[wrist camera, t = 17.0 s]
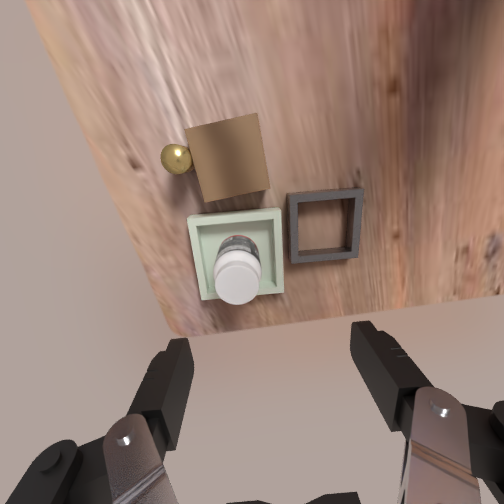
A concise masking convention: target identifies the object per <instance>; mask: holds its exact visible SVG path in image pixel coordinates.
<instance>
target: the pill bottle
mask: <svg viewBox="0 0 504 504" xmlns="http://www.w3.org/2000/svg"><path fill="white" fill-rule="evenodd" d="M261 276H262V269H261V263H260V257H259V251H258V248H257V246H256V244H255V242H254V241H253V240H252V239H250V238H249V237H247V236H244V235H233V236H230V237H228V238H226V239H225V240H224V241H223V242H222V243H221V245H220V247H219V250H218V254H217V257H216V261H215V264H214V269H213V277H214V281H215V289H216V292H217V294H218V296H219V297H220V298H221V299H222V300H223V301H225V302H227V303H229V304H234V305H241V304H245V303H247V302H249V301H251V300H252V299H253V298H254V297H255V296H256V294H257V293H258V290H259V283H260V280H261Z"/></svg>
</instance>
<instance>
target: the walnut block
mask: <svg viewBox="0 0 504 504" xmlns="http://www.w3.org/2000/svg"><path fill="white" fill-rule="evenodd" d="M184 130H185V134H186V137H187V141H188V144H189V148H190V152H191V155H192V159H193V162H194V166H195V170H196V173H197V177H198V180H199V184H200V188H201V191H202V195H203V199H204V202H205V203H206V202H210V201H215V200H220V199H224V198H229V197H233V196H238V195H243V194H247V193H252V192H256V191H261V190H266V189H270V183H269V177H268V171H267V166H266V160H265V154H264V148H263V143H262V137H261V131H260V125H259V119H258V114H257V113H254V114H249V115H245V116H241V117H236V118H232V119H227V120H223V121H219V122H214V123H210V124H205V125H201V126H197V127H192V128H188V129H184Z"/></svg>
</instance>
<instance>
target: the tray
mask: <svg viewBox="0 0 504 504" xmlns="http://www.w3.org/2000/svg"><path fill="white" fill-rule="evenodd" d="M187 222H188V228H189V234H190V239H191V245H192V250H193V256H194V261H195V267H196V272H197V278H198V283H199V289H200V294H201V300H210V299H221V298H220V297H219V296H218V294H217V292H216V289H215V281H214V277H213V269H214V264H215V261H216V257H217V254H218V250H219V247H220V245H221V243H222V242H223V241H224V240H225V239H226V238H228V237H230V236H233V235H244V236H247V237H249V238H250V239H252V240H253V241H254V242H255V244H256V246H257V248H258V251H259V257H260V263H261V269H262V276H261V280H260V283H259V290H258V293H257V294H256V295H264V294H274V293H284V277H283V249H282V222H281V210H280V209H279V207H273V208H262V209H251V210H239V211H228V212H217V213H205V214H194V215H190V216H189V217H188V218H187Z"/></svg>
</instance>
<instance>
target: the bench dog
mask: <svg viewBox="0 0 504 504" xmlns="http://www.w3.org/2000/svg"><path fill="white" fill-rule="evenodd" d="M161 163H162V165H163V167H164V168H165V169H166V170H167V171H168V172H170V173H172V174H181V173H186V172H190V171H192V170H193V169H194V168H195V166H194V162H193V159H192V155H191V152H190V148H188V147H185V146H181V145H177V144H170V145H167V146H166V147H165V148H164V149H163V150H162V152H161Z"/></svg>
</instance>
